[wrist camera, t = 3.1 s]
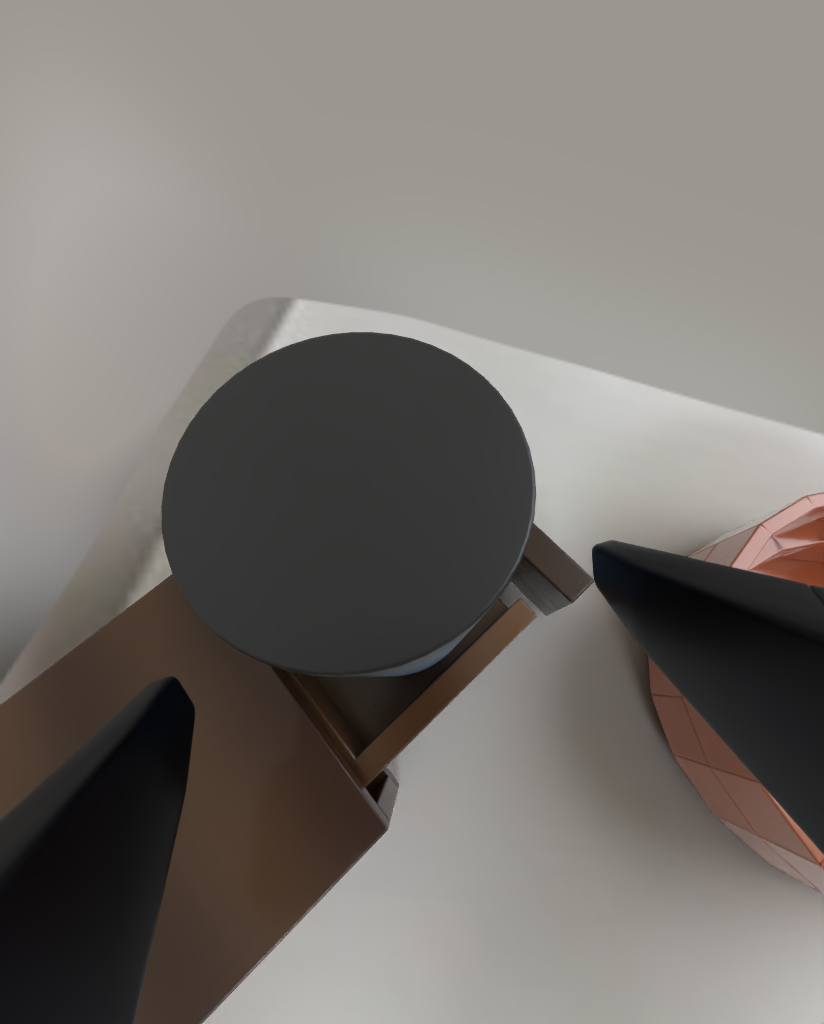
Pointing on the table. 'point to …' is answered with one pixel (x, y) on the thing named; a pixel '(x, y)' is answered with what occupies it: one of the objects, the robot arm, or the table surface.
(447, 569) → the lidded jar
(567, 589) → the drawer
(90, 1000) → the robot arm
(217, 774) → the cabinet
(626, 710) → the table surface
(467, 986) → the table surface
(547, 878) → the table surface
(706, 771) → the bowl
